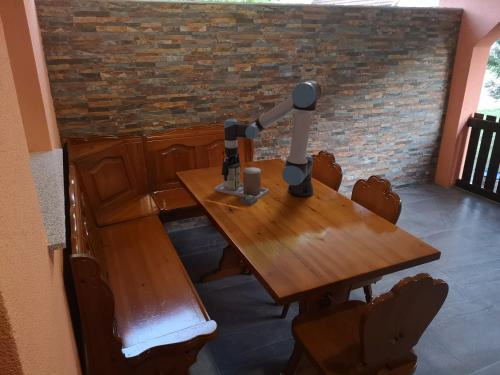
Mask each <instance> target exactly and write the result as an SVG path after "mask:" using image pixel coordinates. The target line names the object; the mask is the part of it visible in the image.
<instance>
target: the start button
mask: <svg viewBox="0 0 500 375" xmlns="http://www.w3.org/2000/svg"><path fill="white" fill-rule="evenodd" d="M252 199H253V196H252V195H245V200H249V201H251V200H252Z"/></svg>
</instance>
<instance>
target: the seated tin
mask: <svg viewBox="0 0 500 375" xmlns="http://www.w3.org/2000/svg"><path fill="white" fill-rule="evenodd" d="M242 174H243V175H242V176H243V178H242V184H243V194H247V195H252V196H258V195H259V194H260V189H261V188H262V187H261V184H262V182H261V179H262V170H261V168H258V167H253V166H251V167H246V168H243V170H242Z"/></svg>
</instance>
